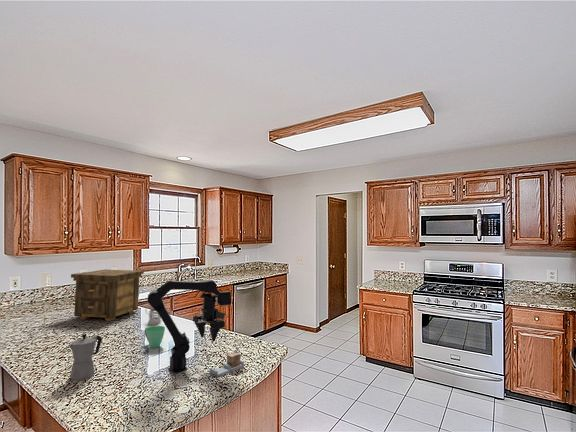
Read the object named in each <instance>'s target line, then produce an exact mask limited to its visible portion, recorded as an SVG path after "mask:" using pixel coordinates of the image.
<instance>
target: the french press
mask: <svg viewBox="0 0 576 432" xmlns="http://www.w3.org/2000/svg"><path fill="white" fill-rule="evenodd" d="M154 289H158V286H154ZM148 306H149V309H150V310H149V312H148V310H147V308H148ZM144 310H145V312H146V314H147V315H148V321H147V322H146V323H147V324H148V325H149V324H151V325H153V324H161V323H162V322H163V320H162V319H161V317H160V315H159V314H158V312H157V311H156V310H155V309H154V308H153V307H152V306H151V305H150V304H149V303H148V304H147V305H146V307H145V309H144Z"/></svg>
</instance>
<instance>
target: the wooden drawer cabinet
mask: <svg viewBox="0 0 576 432" xmlns="http://www.w3.org/2000/svg"><path fill="white" fill-rule="evenodd" d="M143 274H145V271H144V270H131V269H130V270H129V269H127V270H126V269H124V270H123V269H100V270H92V271H85V272H77V273H71V275H70V278H72V279H73V281H74V282H75V293H74V295H75V296H74V311H73V312H74V314H73V316H74V317H79V320H87V319H89V318H104V319H105V321H108V322H111V321H114V320H116V317H117V316H121V315H124V314H125V315H130V314H133V313H134V311H137V310H139V295H140V294H139V290H140V289H139V288H140V278H141V277H142V275H143Z"/></svg>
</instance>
